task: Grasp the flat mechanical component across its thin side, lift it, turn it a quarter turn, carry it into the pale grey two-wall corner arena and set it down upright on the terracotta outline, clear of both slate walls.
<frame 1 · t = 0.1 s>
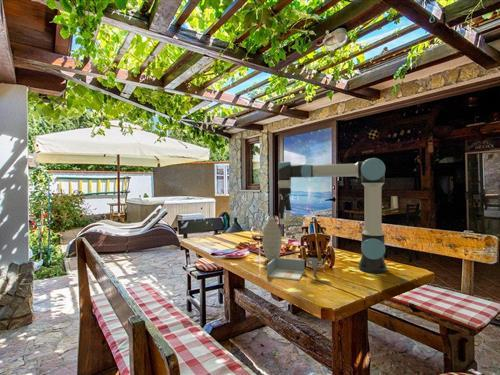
hand: (285, 222, 180), 28 cm above the table, fingers open, 13 cm apart
arena: (286, 274, 169), on the table
mechanical component: (315, 276, 165), on the table
vase: (272, 260, 199), on the table
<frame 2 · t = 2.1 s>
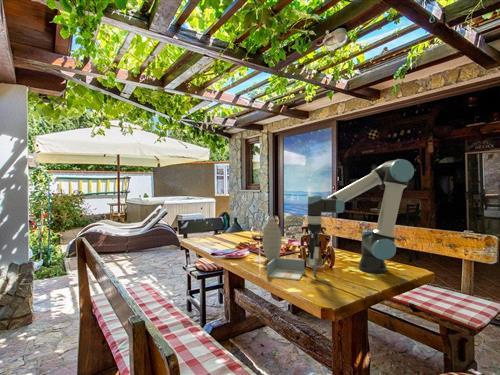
hand: (314, 261, 164), 8 cm above the table, fingers open, 13 cm apart
nothing on the table moved.
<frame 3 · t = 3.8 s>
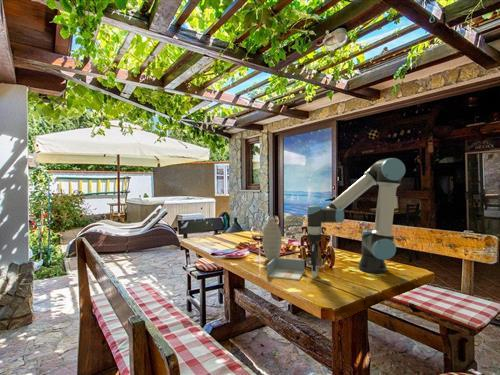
hand: (314, 275, 165), 1 cm above the table, fingers closed on mechanical component, 3 cm apart
mechanical component: (315, 276, 165), on the table, touching gripper
everything else where it was.
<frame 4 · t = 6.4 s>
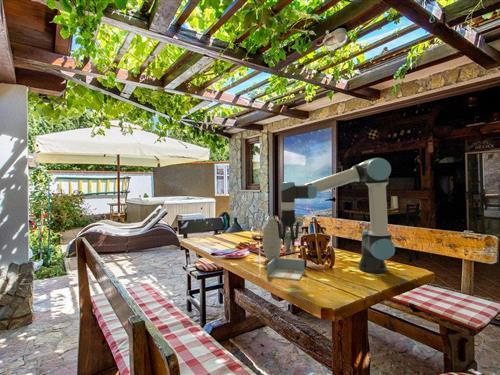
hand: (288, 251, 166), 14 cm above the table, fingers closed on mechanical component, 3 cm apart
mechanical component: (288, 252, 167), point 13 cm above the table, touching gripper
everything else where it was.
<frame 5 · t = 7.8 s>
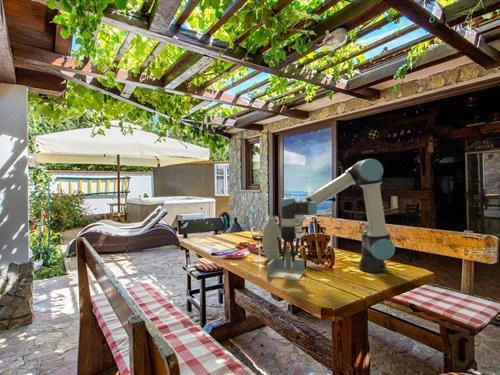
hand: (288, 266, 167), 5 cm above the table, fingers closed on mechanical component, 3 cm apart
mechanical component: (288, 268, 167), point 4 cm above the table, touching gripper
everything else where it was.
when the fingers open (2 cm above the table, at t = 8.9 s): mechanical component stays where it is, resting on arena.
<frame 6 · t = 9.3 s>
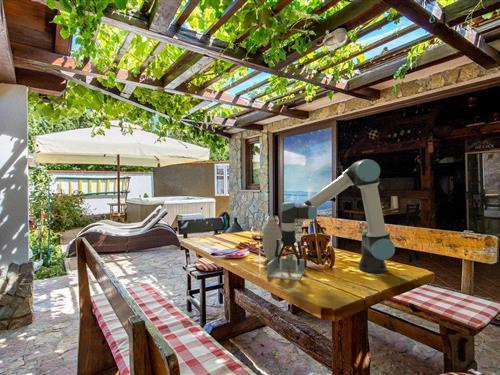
hand: (288, 269, 167), 3 cm above the table, fingers open, 8 cm apart
mechanical component: (289, 274, 167), point 1 cm above the table, touching arena
everything else where it was.
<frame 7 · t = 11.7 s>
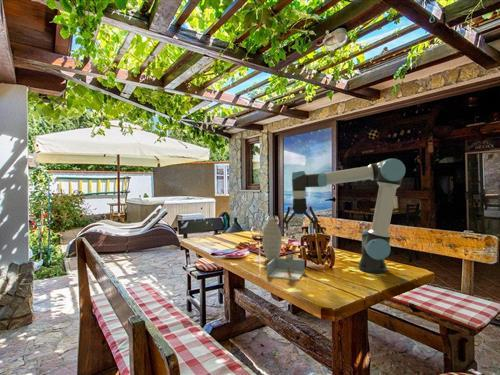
hand: (300, 234, 171), 22 cm above the table, fingers open, 13 cm apart
nothing on the table moved.
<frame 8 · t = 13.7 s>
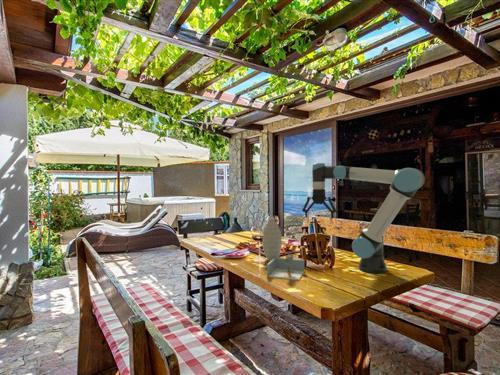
hand: (319, 223, 180), 27 cm above the table, fingers open, 13 cm apart
nothing on the table moved.
at the end: mechanical component inside the target area (0.6 cm from its centre), point 0.7 cm above the table; mechanical component tilted 0°; mechanical component moved 14.2 cm from its start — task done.
